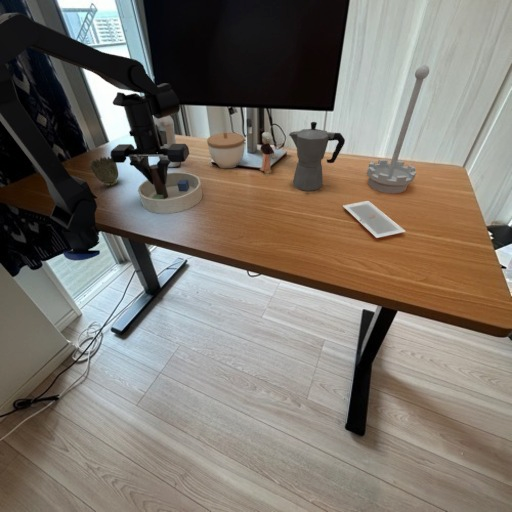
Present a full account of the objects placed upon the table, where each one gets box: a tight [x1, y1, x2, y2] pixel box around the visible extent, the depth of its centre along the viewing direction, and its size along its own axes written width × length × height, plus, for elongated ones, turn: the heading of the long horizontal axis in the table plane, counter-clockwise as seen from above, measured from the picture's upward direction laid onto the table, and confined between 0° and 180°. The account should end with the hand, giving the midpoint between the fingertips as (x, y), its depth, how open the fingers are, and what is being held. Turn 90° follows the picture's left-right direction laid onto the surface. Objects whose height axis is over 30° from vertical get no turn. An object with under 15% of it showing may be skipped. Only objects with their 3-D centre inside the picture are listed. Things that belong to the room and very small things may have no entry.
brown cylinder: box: [149, 163, 168, 199], centre depth 74 cm, size 3×3×9 cm
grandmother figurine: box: [259, 131, 276, 175], centre depth 87 cm, size 8×4×13 cm, turn 45°
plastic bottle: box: [153, 115, 182, 168], centre depth 91 cm, size 6×7×20 cm
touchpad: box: [342, 200, 407, 239], centre depth 67 cm, size 8×15×2 cm, turn 16°
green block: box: [152, 194, 164, 199], centre depth 75 cm, size 2×2×2 cm
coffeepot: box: [288, 121, 346, 192], centre depth 77 cm, size 15×9×18 cm, turn 72°
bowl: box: [137, 171, 204, 215], centre depth 78 cm, size 17×17×4 cm
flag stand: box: [366, 64, 430, 194], centre depth 72 cm, size 13×13×30 cm
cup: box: [88, 156, 119, 188], centre depth 84 cm, size 8×7×8 cm
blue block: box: [177, 180, 189, 192], centre depth 82 cm, size 2×2×2 cm
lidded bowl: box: [206, 131, 245, 169], centre depth 93 cm, size 13×13×11 cm
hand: (159, 183), depth 75 cm, fingers closed on brown cylinder, 3 cm apart
